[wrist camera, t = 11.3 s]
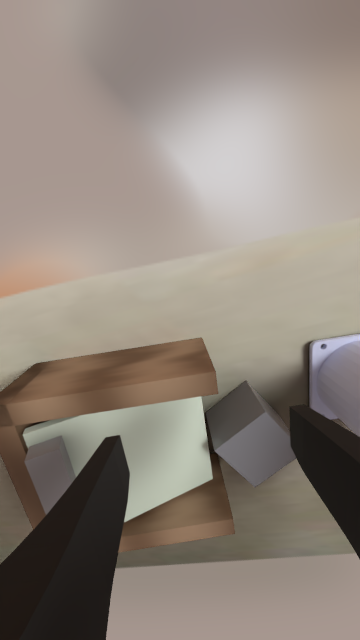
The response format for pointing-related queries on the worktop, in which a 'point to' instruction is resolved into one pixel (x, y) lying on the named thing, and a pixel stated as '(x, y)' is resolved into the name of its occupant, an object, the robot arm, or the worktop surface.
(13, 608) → the robot arm
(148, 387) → the frame
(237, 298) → the worktop surface
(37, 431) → the trapdoor
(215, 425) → the grey cube
